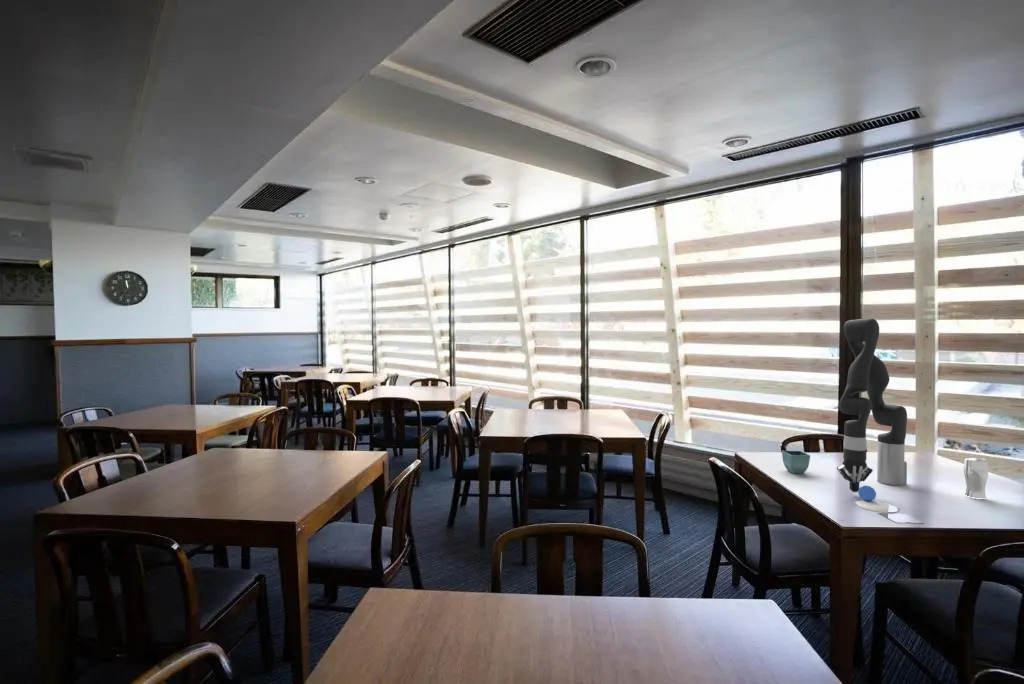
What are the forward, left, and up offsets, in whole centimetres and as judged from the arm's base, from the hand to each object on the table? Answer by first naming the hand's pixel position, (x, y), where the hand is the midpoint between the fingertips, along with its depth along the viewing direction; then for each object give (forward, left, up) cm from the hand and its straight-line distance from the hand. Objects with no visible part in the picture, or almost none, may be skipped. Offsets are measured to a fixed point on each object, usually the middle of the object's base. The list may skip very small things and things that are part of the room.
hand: (854, 491), depth 199 cm
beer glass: (-45, +1, -2) cm, 45 cm away
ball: (-1, +6, +1) cm, 6 cm away
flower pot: (+6, -33, -2) cm, 34 cm away
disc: (0, +13, -2) cm, 13 cm away
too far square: (0, +25, -2) cm, 25 cm away
